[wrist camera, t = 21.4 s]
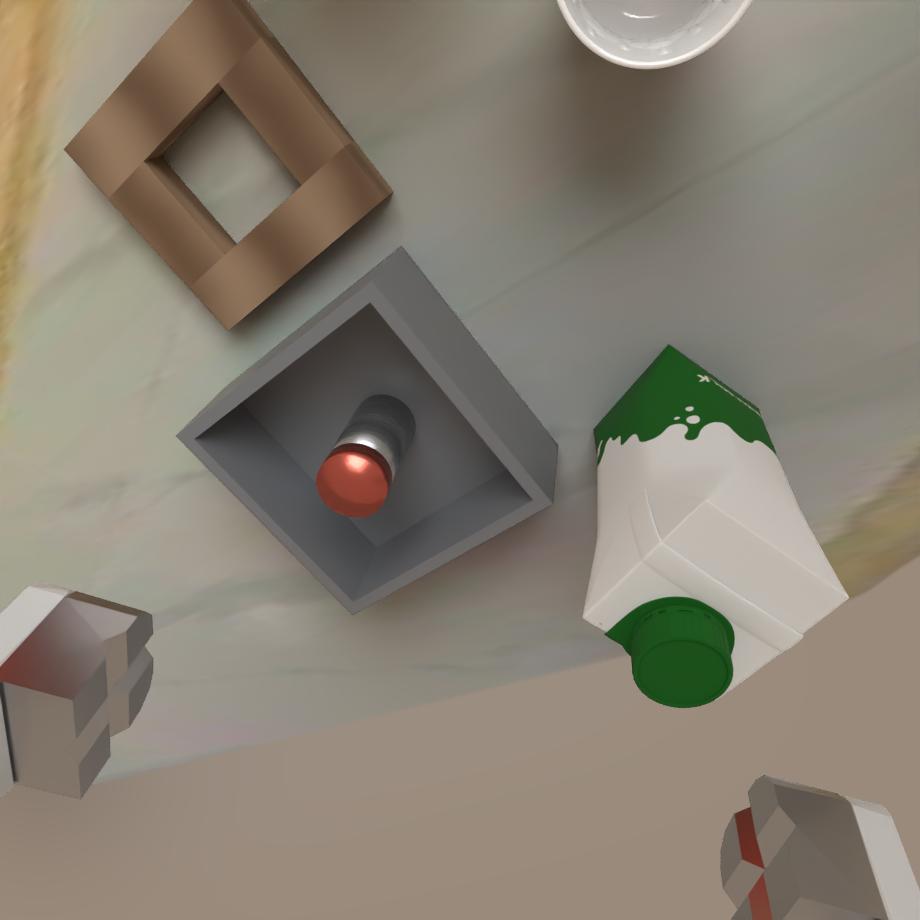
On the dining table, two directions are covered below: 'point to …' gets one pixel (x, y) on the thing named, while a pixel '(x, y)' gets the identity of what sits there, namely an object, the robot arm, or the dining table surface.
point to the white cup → (651, 28)
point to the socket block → (274, 117)
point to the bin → (428, 455)
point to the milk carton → (699, 538)
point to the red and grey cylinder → (366, 457)
